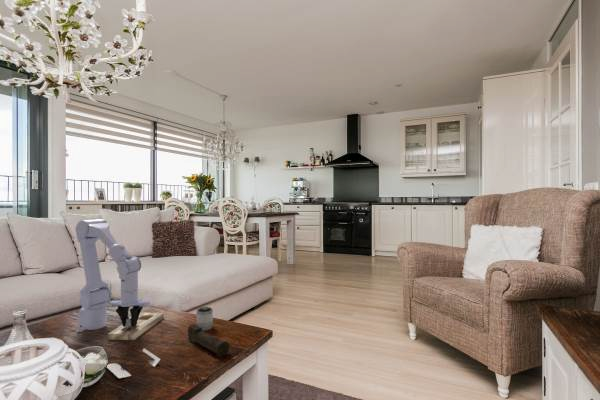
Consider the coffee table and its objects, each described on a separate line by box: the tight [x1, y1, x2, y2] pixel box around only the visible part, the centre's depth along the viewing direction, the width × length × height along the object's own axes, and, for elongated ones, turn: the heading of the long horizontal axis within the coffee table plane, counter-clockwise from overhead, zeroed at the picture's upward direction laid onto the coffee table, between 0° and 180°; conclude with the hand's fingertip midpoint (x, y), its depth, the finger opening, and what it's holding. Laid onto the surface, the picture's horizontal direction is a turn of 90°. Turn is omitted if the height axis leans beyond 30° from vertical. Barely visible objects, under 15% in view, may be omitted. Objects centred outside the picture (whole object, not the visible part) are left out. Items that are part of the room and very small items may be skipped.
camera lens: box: [195, 306, 214, 332], centre depth 130 cm, size 6×6×8 cm
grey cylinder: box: [125, 315, 134, 331], centre depth 123 cm, size 3×3×6 cm
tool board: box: [107, 312, 165, 341], centre depth 128 cm, size 10×22×3 cm, turn 177°
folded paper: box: [106, 348, 161, 379], centre depth 100 cm, size 12×12×2 cm
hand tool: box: [187, 323, 230, 358], centre depth 114 cm, size 23×5×6 cm, turn 45°
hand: (129, 325), depth 123 cm, fingers closed on grey cylinder, 3 cm apart
